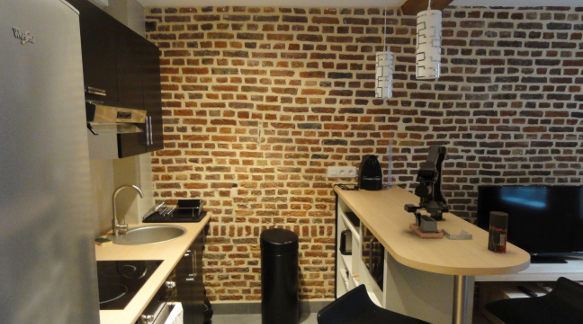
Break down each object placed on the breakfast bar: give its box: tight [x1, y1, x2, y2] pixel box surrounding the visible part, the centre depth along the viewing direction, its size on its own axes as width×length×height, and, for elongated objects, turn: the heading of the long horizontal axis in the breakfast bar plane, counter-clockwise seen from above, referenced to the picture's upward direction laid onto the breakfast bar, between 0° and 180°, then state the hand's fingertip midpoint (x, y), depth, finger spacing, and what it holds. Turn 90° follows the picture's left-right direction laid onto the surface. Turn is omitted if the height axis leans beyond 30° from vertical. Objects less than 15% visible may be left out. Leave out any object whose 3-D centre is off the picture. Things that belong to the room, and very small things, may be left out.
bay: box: [440, 228, 473, 240], centre depth 131 cm, size 8×10×2 cm
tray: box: [408, 222, 444, 239], centre depth 136 cm, size 15×9×2 cm, turn 177°
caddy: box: [414, 214, 438, 233], centre depth 136 cm, size 11×5×5 cm, turn 177°
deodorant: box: [487, 210, 509, 254], centre depth 115 cm, size 6×6×15 cm
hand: (425, 226), depth 136 cm, fingers closed on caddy, 5 cm apart
